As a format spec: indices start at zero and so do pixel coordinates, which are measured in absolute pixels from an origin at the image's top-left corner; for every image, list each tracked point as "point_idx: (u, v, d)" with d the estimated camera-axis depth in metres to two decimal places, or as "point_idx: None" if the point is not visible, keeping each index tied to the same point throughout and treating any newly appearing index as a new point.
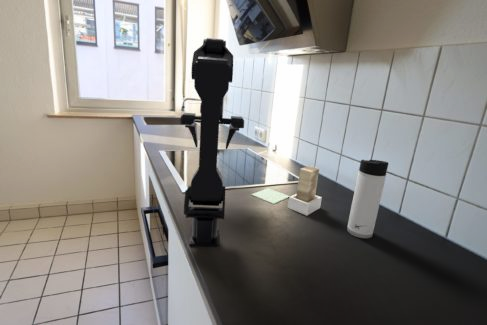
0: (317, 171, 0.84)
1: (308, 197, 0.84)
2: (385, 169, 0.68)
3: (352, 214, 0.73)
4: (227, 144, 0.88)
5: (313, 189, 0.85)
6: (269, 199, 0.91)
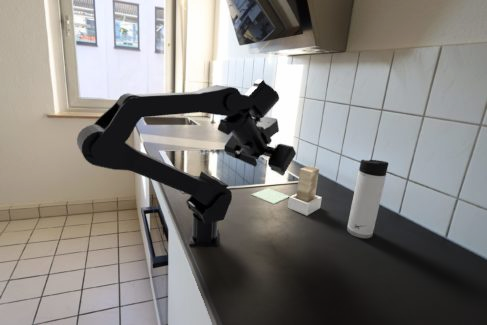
0: (317, 171, 0.84)
1: (308, 197, 0.84)
2: (385, 169, 0.68)
3: (352, 214, 0.73)
4: (280, 174, 0.72)
5: (313, 189, 0.85)
6: (269, 199, 0.91)
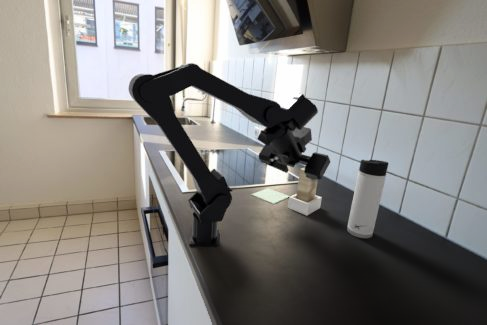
0: None
1: (308, 197, 0.84)
2: (385, 169, 0.68)
3: (352, 214, 0.73)
4: (313, 180, 0.76)
5: (313, 189, 0.85)
6: (269, 199, 0.91)
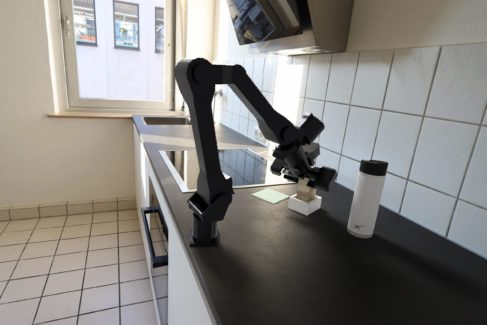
0: None
1: (308, 197, 0.84)
2: (385, 169, 0.68)
3: (352, 214, 0.73)
4: (312, 188, 0.84)
5: None
6: (269, 199, 0.91)
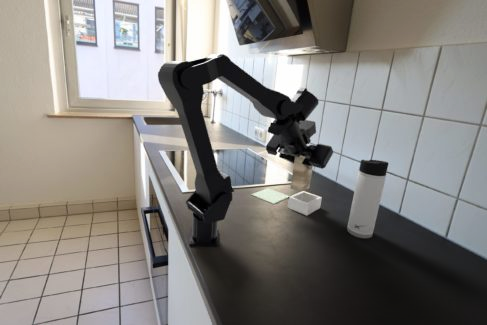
0: None
1: (304, 177, 0.84)
2: (385, 169, 0.68)
3: (352, 214, 0.73)
4: (308, 168, 0.83)
5: (309, 169, 0.85)
6: (269, 199, 0.91)
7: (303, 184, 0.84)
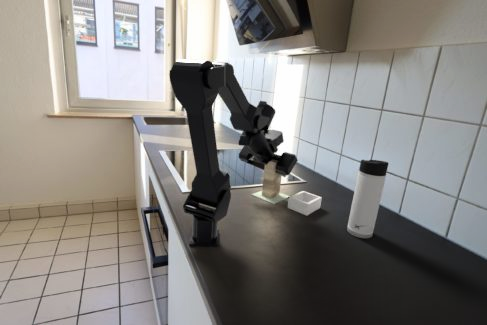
0: None
1: (273, 185, 0.91)
2: (385, 169, 0.68)
3: (352, 214, 0.73)
4: None
5: (278, 177, 0.92)
6: (269, 199, 0.91)
7: (272, 191, 0.91)
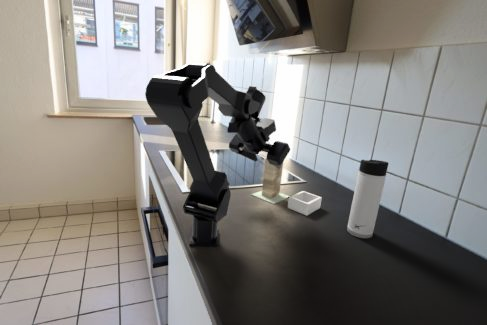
0: None
1: (273, 185, 0.91)
2: (385, 169, 0.68)
3: (352, 214, 0.73)
4: (277, 167, 0.84)
5: (278, 177, 0.92)
6: (269, 199, 0.91)
7: (272, 191, 0.91)
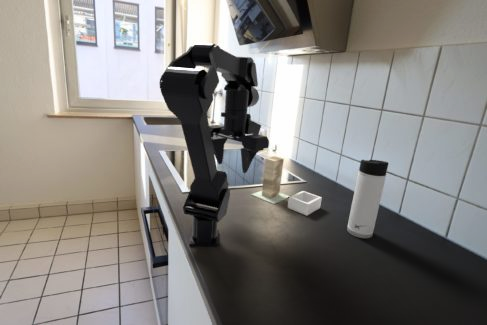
0: (281, 161, 0.91)
1: (273, 185, 0.91)
2: (385, 169, 0.68)
3: (352, 214, 0.73)
4: (243, 167, 0.73)
5: (278, 177, 0.92)
6: (269, 199, 0.91)
7: (272, 191, 0.91)
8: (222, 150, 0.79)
